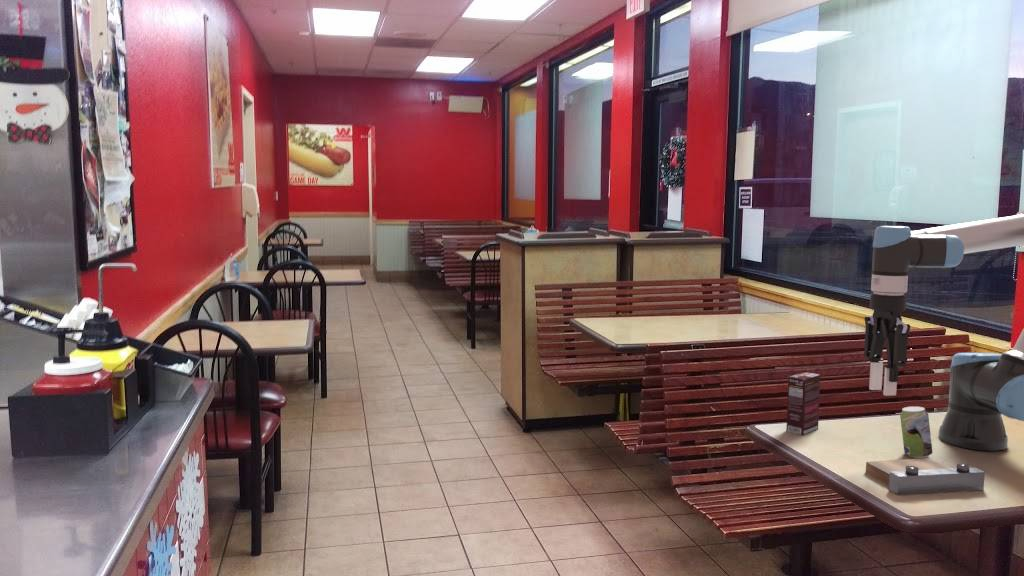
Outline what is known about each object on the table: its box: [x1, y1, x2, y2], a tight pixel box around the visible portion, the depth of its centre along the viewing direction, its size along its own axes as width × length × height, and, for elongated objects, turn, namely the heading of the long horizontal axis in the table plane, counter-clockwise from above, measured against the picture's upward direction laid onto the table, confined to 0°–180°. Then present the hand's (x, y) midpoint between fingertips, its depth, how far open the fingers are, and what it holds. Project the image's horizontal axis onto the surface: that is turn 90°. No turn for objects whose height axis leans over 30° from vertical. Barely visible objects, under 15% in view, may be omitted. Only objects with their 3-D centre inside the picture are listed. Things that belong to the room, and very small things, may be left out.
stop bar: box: [888, 462, 986, 496], centre depth 164 cm, size 20×3×5 cm, turn 99°
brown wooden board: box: [865, 457, 951, 486], centre depth 171 cm, size 16×10×3 cm, turn 100°
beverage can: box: [899, 405, 933, 459], centre depth 185 cm, size 6×7×12 cm
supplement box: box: [785, 371, 821, 436], centre depth 202 cm, size 9×5×16 cm, turn 131°
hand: (882, 392), depth 180 cm, fingers open, 5 cm apart
